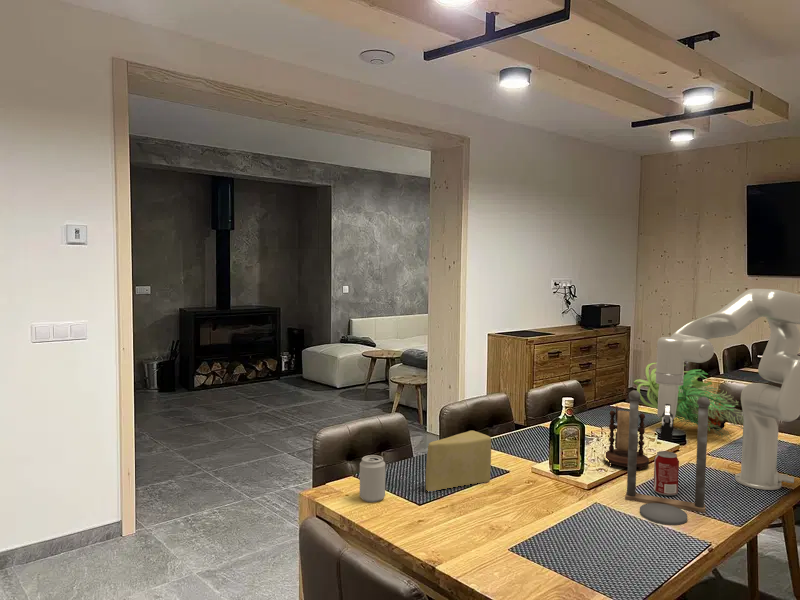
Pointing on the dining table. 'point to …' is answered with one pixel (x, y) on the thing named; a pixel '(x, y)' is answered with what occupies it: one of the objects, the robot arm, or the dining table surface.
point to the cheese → (458, 461)
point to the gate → (700, 462)
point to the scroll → (624, 440)
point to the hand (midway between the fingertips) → (666, 435)
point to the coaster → (663, 514)
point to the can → (372, 478)
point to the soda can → (666, 473)
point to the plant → (692, 400)
